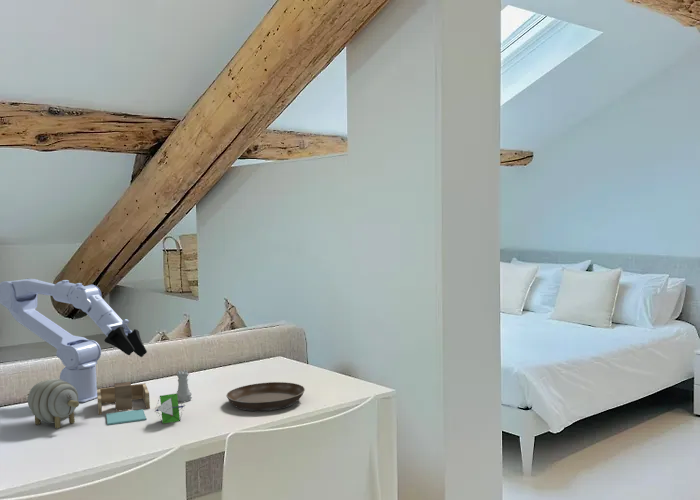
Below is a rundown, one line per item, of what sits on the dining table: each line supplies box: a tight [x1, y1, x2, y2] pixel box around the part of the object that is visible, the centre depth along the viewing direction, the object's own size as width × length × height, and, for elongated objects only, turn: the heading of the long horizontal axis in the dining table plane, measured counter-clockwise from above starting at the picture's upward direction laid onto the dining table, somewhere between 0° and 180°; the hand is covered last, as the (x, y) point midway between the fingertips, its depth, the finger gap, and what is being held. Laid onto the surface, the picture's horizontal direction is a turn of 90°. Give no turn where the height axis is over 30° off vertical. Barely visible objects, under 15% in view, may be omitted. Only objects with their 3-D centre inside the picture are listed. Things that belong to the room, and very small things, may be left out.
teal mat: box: [105, 408, 147, 426], centre depth 169 cm, size 9×9×1 cm
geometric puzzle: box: [154, 393, 186, 425], centre depth 165 cm, size 7×7×8 cm
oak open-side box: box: [96, 383, 151, 416], centre depth 180 cm, size 12×13×4 cm
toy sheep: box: [26, 378, 80, 429], centre depth 165 cm, size 11×17×11 cm, turn 65°
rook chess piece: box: [175, 369, 193, 403], centre depth 184 cm, size 4×4×8 cm
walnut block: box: [113, 381, 133, 412], centre depth 178 cm, size 4×4×6 cm
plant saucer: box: [226, 381, 306, 412], centre depth 180 cm, size 21×21×3 cm
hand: (137, 353), depth 182 cm, fingers open, 7 cm apart
